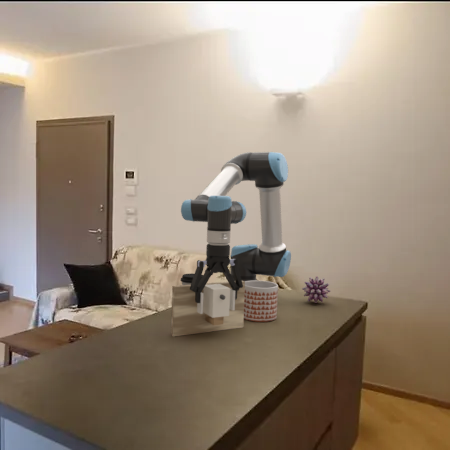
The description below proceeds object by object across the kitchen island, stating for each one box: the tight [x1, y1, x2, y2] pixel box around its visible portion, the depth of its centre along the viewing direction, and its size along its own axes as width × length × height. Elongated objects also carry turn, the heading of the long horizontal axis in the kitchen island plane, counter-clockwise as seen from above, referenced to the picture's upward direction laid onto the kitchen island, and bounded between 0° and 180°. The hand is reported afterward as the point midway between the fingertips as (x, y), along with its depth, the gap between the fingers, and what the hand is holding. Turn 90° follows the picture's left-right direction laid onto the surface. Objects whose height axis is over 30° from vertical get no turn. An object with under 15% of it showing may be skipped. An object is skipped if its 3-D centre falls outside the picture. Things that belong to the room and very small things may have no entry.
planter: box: [244, 279, 279, 323], centre depth 172 cm, size 14×14×13 cm
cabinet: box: [203, 284, 230, 318], centre depth 147 cm, size 8×6×9 cm
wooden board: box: [170, 281, 245, 337], centre depth 150 cm, size 8×26×16 cm, turn 118°
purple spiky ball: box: [301, 275, 331, 304], centre depth 196 cm, size 12×12×12 cm
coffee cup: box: [180, 273, 204, 285], centre depth 171 cm, size 9×9×15 cm
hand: (216, 311), depth 148 cm, fingers open, 11 cm apart
